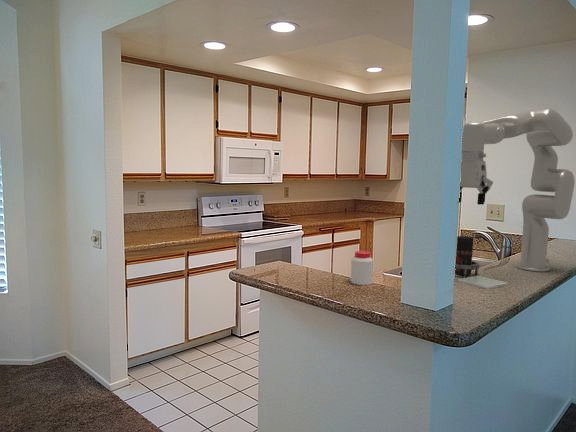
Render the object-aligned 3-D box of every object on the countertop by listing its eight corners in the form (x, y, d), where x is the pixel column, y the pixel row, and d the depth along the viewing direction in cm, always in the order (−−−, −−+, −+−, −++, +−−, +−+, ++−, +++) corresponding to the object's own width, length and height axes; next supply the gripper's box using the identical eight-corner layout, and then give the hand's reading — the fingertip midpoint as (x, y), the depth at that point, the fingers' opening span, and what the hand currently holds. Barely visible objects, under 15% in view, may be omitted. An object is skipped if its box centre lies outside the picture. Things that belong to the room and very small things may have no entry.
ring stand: (459, 270, 182) (460, 258, 181) (483, 276, 173) (484, 263, 172) (442, 273, 176) (443, 260, 175) (466, 279, 167) (466, 266, 166)
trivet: (477, 277, 170) (478, 275, 170) (507, 284, 160) (507, 282, 160) (457, 281, 163) (458, 279, 163) (487, 289, 153) (487, 286, 153)
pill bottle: (359, 278, 165) (360, 249, 164) (376, 282, 160) (377, 252, 158) (346, 281, 160) (347, 252, 158) (363, 286, 154) (365, 255, 153)
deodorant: (472, 276, 171) (474, 238, 169) (456, 275, 172) (458, 238, 170) (469, 273, 177) (471, 236, 175) (453, 272, 178) (456, 235, 176)
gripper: (500, 157, 157) (496, 205, 159) (458, 157, 171) (455, 201, 173) (487, 156, 153) (484, 205, 155) (445, 156, 167) (442, 201, 169)
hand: (468, 203), depth 164 cm, fingers open, 9 cm apart
